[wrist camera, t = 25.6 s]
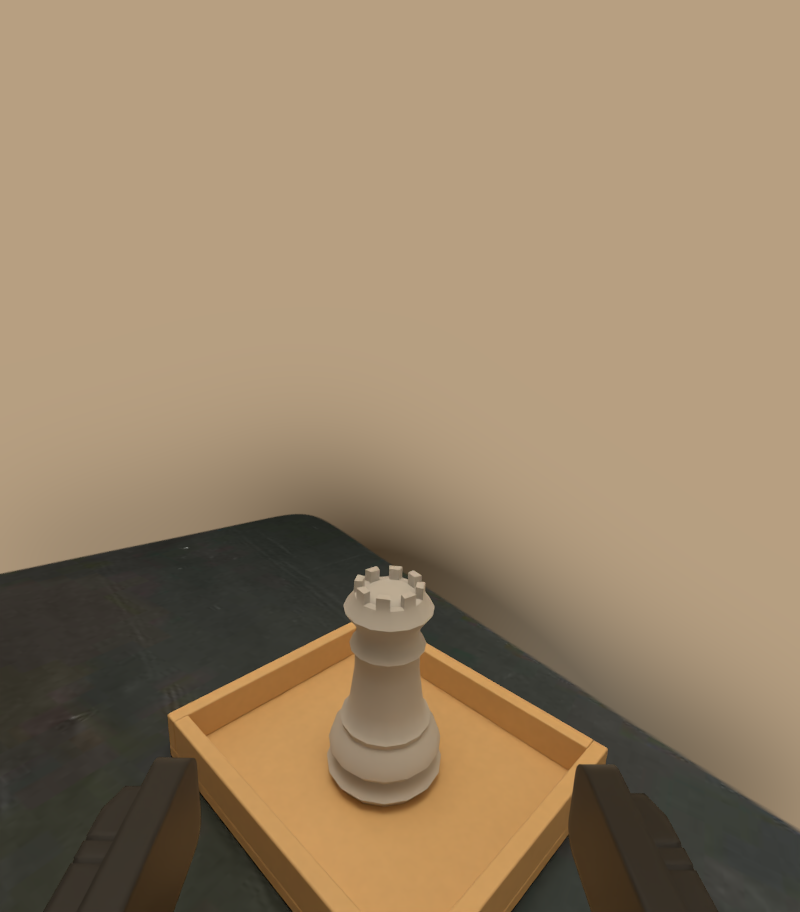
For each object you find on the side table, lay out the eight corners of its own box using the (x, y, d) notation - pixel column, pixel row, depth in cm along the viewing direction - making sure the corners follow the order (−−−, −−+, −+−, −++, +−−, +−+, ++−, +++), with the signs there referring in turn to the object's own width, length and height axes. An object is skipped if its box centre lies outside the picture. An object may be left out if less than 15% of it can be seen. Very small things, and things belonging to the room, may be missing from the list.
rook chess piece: (313, 740, 23) (311, 564, 21) (410, 711, 25) (418, 547, 22) (348, 832, 19) (351, 627, 17) (461, 790, 21) (476, 600, 19)
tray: (170, 754, 22) (166, 713, 22) (371, 643, 30) (371, 611, 30) (404, 1057, 14) (407, 1001, 13) (601, 790, 22) (609, 748, 21)
